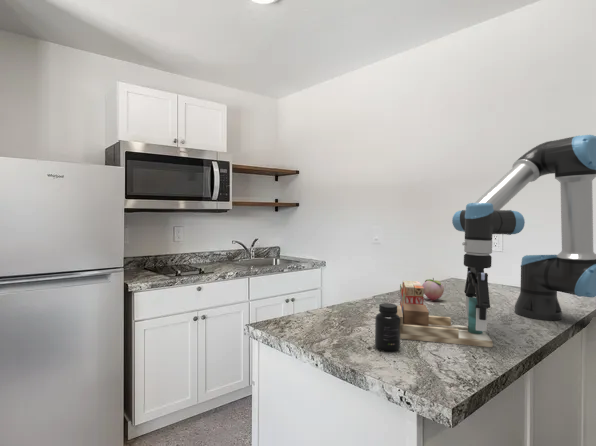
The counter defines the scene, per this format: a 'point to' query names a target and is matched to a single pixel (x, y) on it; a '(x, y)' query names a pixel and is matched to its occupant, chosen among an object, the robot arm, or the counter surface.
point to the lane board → (442, 332)
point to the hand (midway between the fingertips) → (475, 323)
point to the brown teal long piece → (420, 316)
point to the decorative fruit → (433, 289)
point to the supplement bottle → (387, 328)
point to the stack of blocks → (411, 293)
